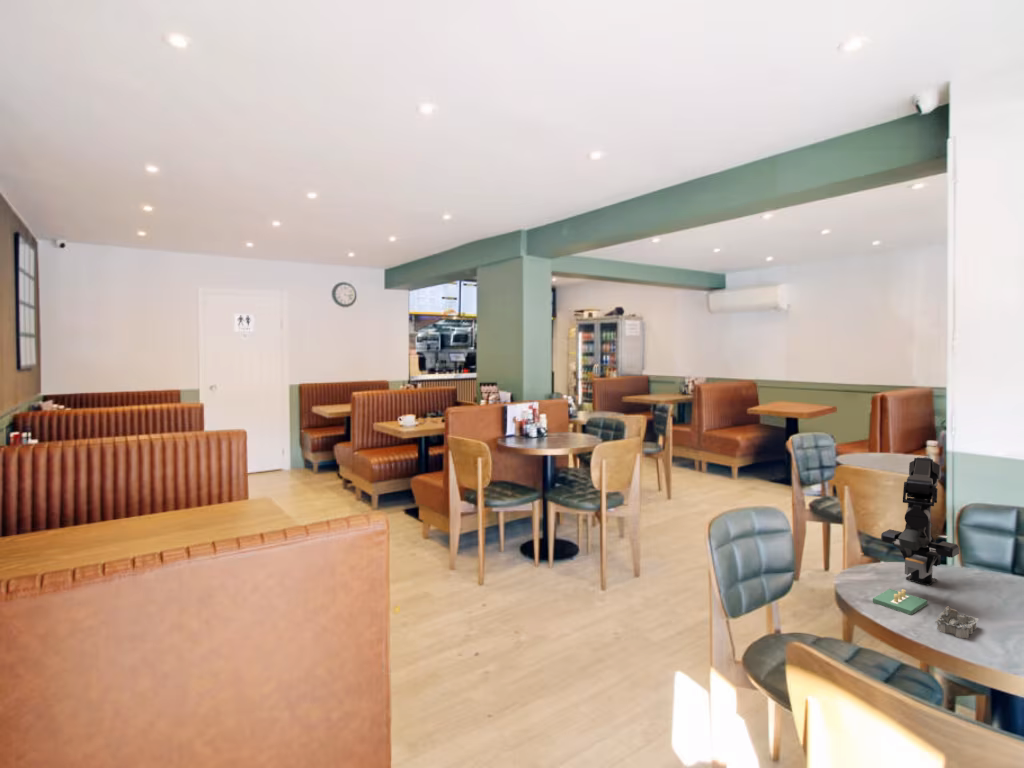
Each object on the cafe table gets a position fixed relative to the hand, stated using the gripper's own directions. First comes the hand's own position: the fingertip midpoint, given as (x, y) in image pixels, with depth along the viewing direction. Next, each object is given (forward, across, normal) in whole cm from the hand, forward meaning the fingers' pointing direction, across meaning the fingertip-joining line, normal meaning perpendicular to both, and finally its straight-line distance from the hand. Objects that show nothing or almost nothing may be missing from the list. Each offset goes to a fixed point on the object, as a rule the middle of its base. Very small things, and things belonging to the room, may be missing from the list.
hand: (918, 570), depth 170 cm
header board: (+8, -1, -10) cm, 13 cm away
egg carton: (+9, +14, -14) cm, 22 cm away
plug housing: (+1, 0, 0) cm, 1 cm away
